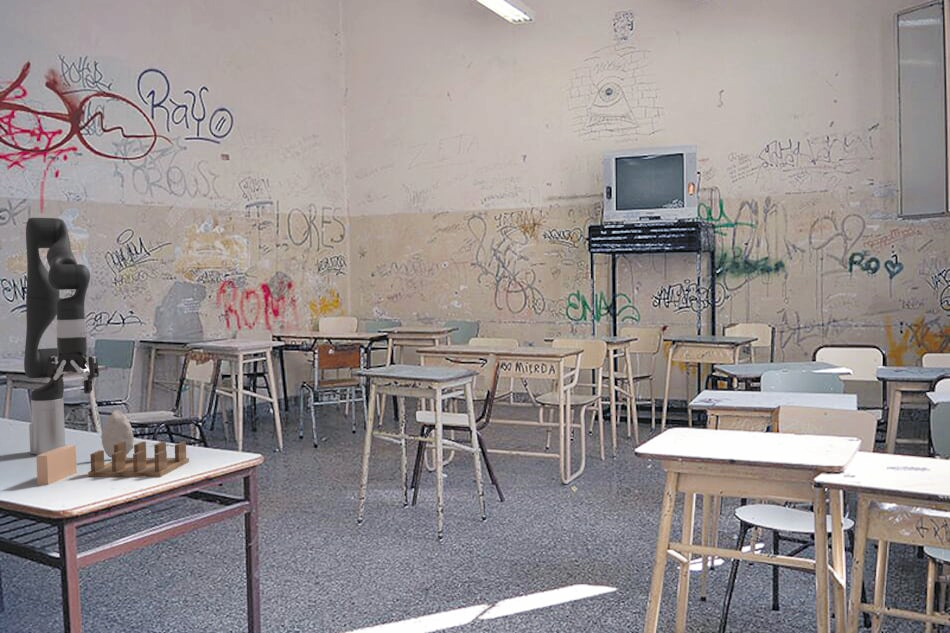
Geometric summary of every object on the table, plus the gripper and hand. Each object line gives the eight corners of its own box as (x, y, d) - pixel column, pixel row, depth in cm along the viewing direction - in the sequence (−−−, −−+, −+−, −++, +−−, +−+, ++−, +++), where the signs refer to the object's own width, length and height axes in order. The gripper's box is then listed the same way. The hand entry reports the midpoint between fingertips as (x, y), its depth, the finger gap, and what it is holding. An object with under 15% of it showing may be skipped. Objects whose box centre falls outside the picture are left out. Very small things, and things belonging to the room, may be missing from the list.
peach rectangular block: (37, 485, 233) (36, 455, 232) (66, 473, 247) (65, 445, 246) (48, 485, 233) (47, 455, 232) (76, 473, 247) (75, 445, 246)
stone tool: (103, 461, 261) (101, 412, 261) (101, 459, 264) (99, 410, 263) (135, 457, 266) (133, 408, 266) (132, 455, 269) (131, 407, 268)
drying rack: (88, 476, 242) (87, 454, 241) (121, 461, 260) (121, 441, 260) (160, 476, 240) (159, 454, 239) (189, 461, 259) (188, 441, 258)
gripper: (39, 336, 239) (42, 395, 240) (86, 336, 237) (88, 395, 238) (57, 334, 247) (59, 391, 247) (102, 334, 244) (104, 391, 245)
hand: (73, 393), depth 242 cm, fingers open, 8 cm apart
